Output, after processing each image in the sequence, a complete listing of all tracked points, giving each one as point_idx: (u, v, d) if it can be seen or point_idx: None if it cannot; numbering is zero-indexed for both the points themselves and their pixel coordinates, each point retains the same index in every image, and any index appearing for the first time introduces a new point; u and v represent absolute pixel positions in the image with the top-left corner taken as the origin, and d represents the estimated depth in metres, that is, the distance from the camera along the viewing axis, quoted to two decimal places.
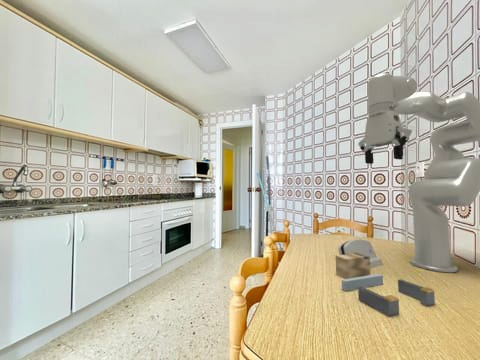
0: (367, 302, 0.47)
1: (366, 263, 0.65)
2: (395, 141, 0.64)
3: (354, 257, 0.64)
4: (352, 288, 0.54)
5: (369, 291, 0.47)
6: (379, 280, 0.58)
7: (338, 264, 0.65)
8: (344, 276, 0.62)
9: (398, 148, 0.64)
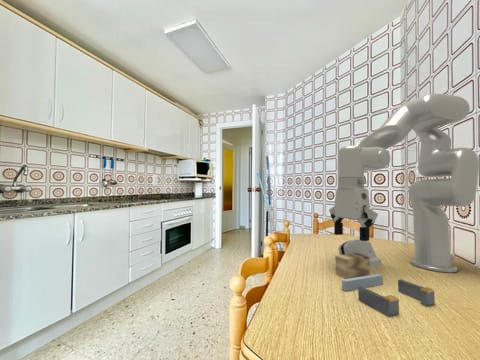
0: (367, 302, 0.47)
1: (366, 263, 0.65)
2: (361, 222, 0.61)
3: (354, 257, 0.64)
4: (352, 288, 0.54)
5: (369, 291, 0.47)
6: (379, 280, 0.58)
7: (338, 264, 0.65)
8: (344, 276, 0.62)
9: (364, 230, 0.61)
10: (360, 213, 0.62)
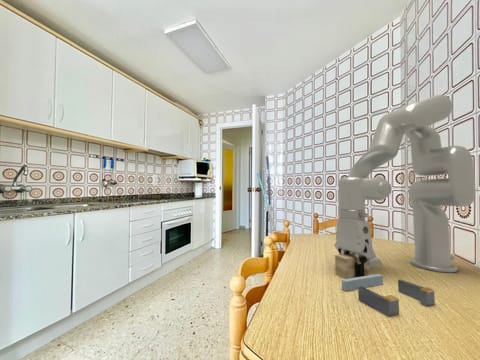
0: (367, 302, 0.47)
1: (365, 263, 0.65)
2: (357, 258, 0.62)
3: (353, 257, 0.64)
4: (352, 288, 0.54)
5: (369, 291, 0.47)
6: (379, 280, 0.58)
7: (338, 264, 0.65)
8: (343, 276, 0.62)
9: (359, 266, 0.62)
10: (362, 248, 0.61)
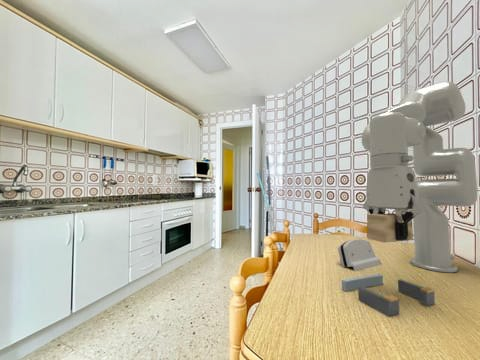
0: (367, 302, 0.47)
1: None
2: (399, 215, 0.47)
3: (392, 215, 0.49)
4: (352, 288, 0.54)
5: (369, 291, 0.47)
6: (379, 280, 0.58)
7: (371, 225, 0.49)
8: (381, 238, 0.47)
9: (401, 226, 0.47)
10: (407, 200, 0.46)
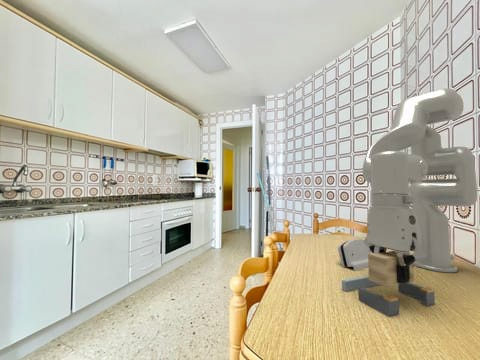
0: (367, 302, 0.47)
1: None
2: (401, 258, 0.47)
3: (394, 256, 0.48)
4: (352, 288, 0.54)
5: (369, 291, 0.47)
6: None
7: (372, 266, 0.49)
8: (382, 282, 0.46)
9: (403, 269, 0.47)
10: (409, 244, 0.45)
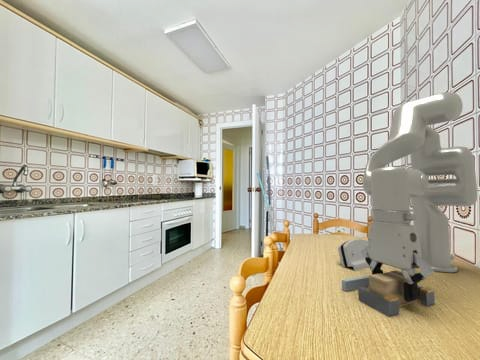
0: (367, 302, 0.47)
1: None
2: (407, 276, 0.45)
3: (395, 278, 0.48)
4: (352, 288, 0.54)
5: (369, 291, 0.47)
6: None
7: (373, 288, 0.48)
8: None
9: (410, 287, 0.45)
10: (410, 262, 0.45)
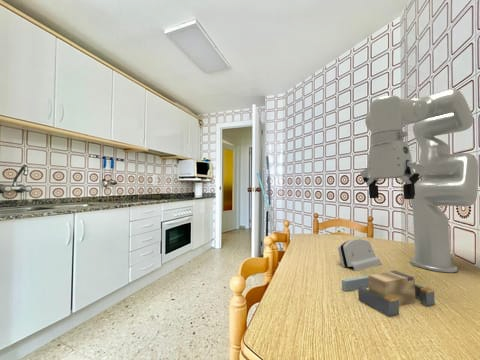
0: (367, 302, 0.47)
1: (410, 286, 0.49)
2: (405, 178, 0.55)
3: (394, 278, 0.48)
4: (352, 288, 0.54)
5: (369, 291, 0.47)
6: None
7: (373, 288, 0.48)
8: None
9: (409, 187, 0.54)
10: (403, 169, 0.55)
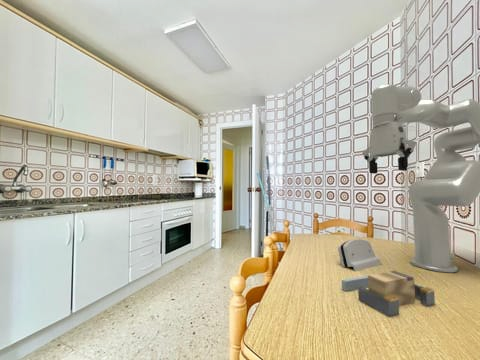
0: (367, 302, 0.47)
1: (410, 286, 0.49)
2: (400, 152, 0.65)
3: (394, 278, 0.48)
4: (352, 288, 0.54)
5: (369, 291, 0.47)
6: None
7: (372, 288, 0.48)
8: None
9: (403, 159, 0.64)
10: (398, 144, 0.65)
